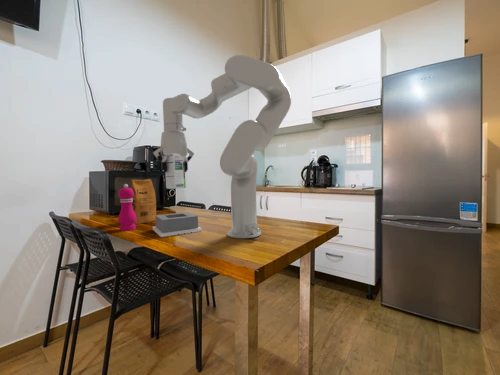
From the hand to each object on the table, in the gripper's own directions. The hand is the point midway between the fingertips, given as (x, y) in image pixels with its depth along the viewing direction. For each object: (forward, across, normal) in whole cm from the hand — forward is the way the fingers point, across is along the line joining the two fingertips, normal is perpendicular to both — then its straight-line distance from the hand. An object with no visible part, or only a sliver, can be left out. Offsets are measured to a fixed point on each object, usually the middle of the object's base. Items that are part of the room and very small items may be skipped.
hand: (175, 171), depth 98 cm
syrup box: (+7, 0, 0) cm, 7 cm away
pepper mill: (+25, +18, -16) cm, 34 cm away
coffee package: (+25, +10, -31) cm, 41 cm away
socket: (+25, 0, 0) cm, 25 cm away
